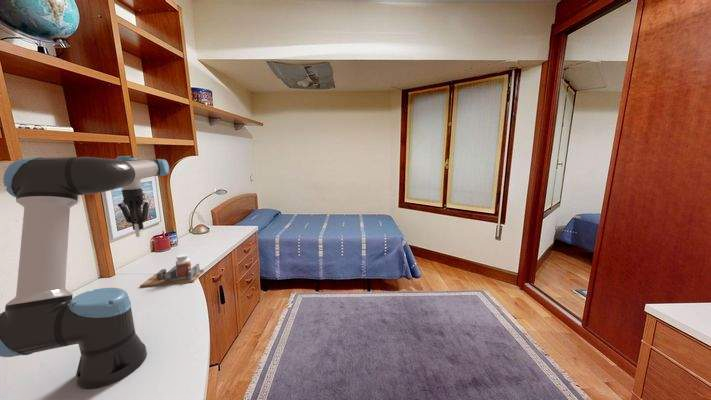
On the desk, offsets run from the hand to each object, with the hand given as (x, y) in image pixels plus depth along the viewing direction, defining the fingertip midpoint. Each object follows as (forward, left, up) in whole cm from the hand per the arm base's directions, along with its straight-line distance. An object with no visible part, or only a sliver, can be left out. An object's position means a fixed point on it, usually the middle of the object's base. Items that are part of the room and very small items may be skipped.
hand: (139, 235), depth 128 cm
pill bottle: (-1, -18, -23) cm, 29 cm away
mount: (-1, -13, -24) cm, 27 cm away
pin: (-1, -9, -23) cm, 24 cm away
